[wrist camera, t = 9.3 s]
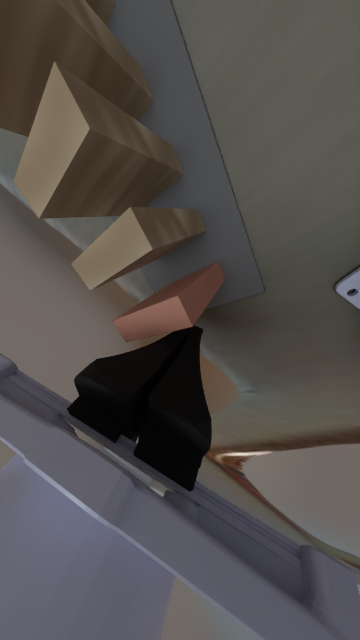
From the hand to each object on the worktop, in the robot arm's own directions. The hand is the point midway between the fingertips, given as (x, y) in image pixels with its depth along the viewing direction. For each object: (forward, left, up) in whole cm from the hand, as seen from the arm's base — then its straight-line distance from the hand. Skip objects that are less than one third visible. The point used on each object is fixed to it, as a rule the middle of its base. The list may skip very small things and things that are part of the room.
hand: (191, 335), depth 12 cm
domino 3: (+6, -3, -5) cm, 8 cm away
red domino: (+2, -1, -5) cm, 6 cm away
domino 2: (+9, -5, -5) cm, 12 cm away
